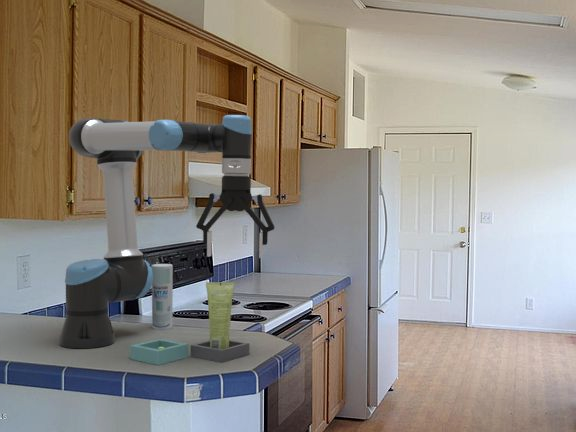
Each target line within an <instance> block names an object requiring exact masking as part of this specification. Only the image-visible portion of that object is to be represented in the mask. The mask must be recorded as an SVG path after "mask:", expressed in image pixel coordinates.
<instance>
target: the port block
mask: <svg viewBox="0 0 576 432" xmlns="http://www.w3.org/2000/svg"><path fill="white" fill-rule="evenodd" d="M129 353H130V354H129V359H130V360H133V361H137V362H142V363H147V364H151V365H156V366H160V365H164V364H168V363H172V362H176V361H180V360H183V359H186V358H187V359H188V358H189V344H188V343H185V342H179V341H174V340H169V339H165V338H158V339H154V340H148V341H145V342H140V343H136V344H131V345H129Z"/></svg>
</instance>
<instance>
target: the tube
mask: <svg viewBox="0 0 576 432" xmlns="http://www.w3.org/2000/svg"><path fill="white" fill-rule="evenodd" d="M205 288H206V292H207V294H206V295H207V303H208V305H207V307H208V319H209V321H208V323H209V326H208V327H209V340H210V348H216V349H221V350H222V349H225V348H229V340H230V333H231V331H230V330H231V320H232V319H231V318H232V317H231V316H232V307H233V306H232V305H233V295H234V289H235V282H233V281H232V282H221V281H220V282H216V281H215V282H213V281H212V282H210V281H206V282H205Z"/></svg>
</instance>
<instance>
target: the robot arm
mask: <svg viewBox="0 0 576 432" xmlns="http://www.w3.org/2000/svg"><path fill="white" fill-rule="evenodd" d="M252 139H253V129H252V118H251V117H250V116H248V115H243V114H227V115H224V116H222V122H221V123H200V122H199V123H198V122H191V121H190V122H189V121H187V122H185V121H179V120H178V121H177V120H173V119H157V120H155V121H154V120H153V121H150V120H149V121H126V120H125V121H124V120H121V119H107V118H96V117H85V118H81V119H79V120H77V121H75V122H74V123H73V124H72V126H71V127H70V129H69V133H68V143H69V145H70V146H71V148H72V150H74V152H75V153H76V154H78V155H80V156H81V157H85V158H89V159H96V165H97V167H98V168H99V169H100V170H101V171H102V178H103V193H104V205H105V207H104V209H105V219H106V220H105V223H106V234H107V235H106V236H107V250H108V251H107V253H106V254H104V256H103V258H91V259H84V260H83V259H82V260H80V261H76V262H73V263H70V264H69V265H67V267H66V269H65V279H64V283H65V319H64V322H63V325H62V329H61V332H60V335H59V346H61V347H64V348H70V349H92V348H100V347H101V348H102V347H106V346H109V345H112V344H114V343H115V341H116V335H115V331H114V329H113V326H112V325H113V324H112V322H111V319H110V317H109V304H111V303H117V302H118V303H119V302H125V301H134V300H137V299H139V298H140V299H141V298H143V297H145V295H147V294H148V292H149V291H150V290H151V289H152V281H153V271H152V266H150V263H149V262H148V261H146V260H144V253H143V252H142V251H140V249H139V248H138V235H137V221H136V208H135V205H136V204H135V192H134V191H135V190H134V178H133V177H134V176H133V169H134V168H135V167H136V166H137V164H138V163H137V162H138V161H137V159H138V158H140V157H141V155H142V151H170V152H171V151H173V152H175V151H176V152H177V151H178V152H191V153H192V152H193V153H197V154H207V153H221V158H222V159H221V173H222V174H223V175H222V177H221V193H220V194H216V193H210V194H209V196H208V202H207V204H206V206H205V207H204V210H203V211H202V214H201V216H200V218H199V220H198V221H197V223H196V225H195V226H196V227H195V228H197V229H198V230H201V231H202V232H203V233H202V237H203V238H202V242H203V244H206V257H212V253H213V252H212V250H213V249H212V246H213V245H212V242H213V239H212V237H213V231H212V230H210V229H211V228H212V227H213V225H214V224H215V223H216V222H217V221H218V220H219V218H220V217H222V216H223V214H224V213H225V212H226V211H229V212H235V211H236V212H244V211H245V212H246V213H247V214H248V215H249V216H250V218H251V219H252V221H254V223H255V224H256V225H257V226H258V227H259V229H260V230H261V231H260V232H259V239H258V240H259V241H258V243H259V245H258V247H259V249H258V251H259V252H258V253H259V254H258V255H259V257H258V258H259V259H262V258H264V246H266V245H267V244H268V234H269V232H271V231H274V230H275V224H274V223H273V221H272V218H271V216H270V214H269V212H268V210H267V208H266V205H265V203H264V196H263V194H261V193H259V194H254V195H253V194H252V191H251V190H252V189H251V188H252V187H251V186H252V185H251V184H252V180H251V179H252V178H251V176H249V175H251V173H252ZM218 200H220V202H221V203H222V205H221V206H220V208H219V209H218V210H217V211H216V213H215V214H214V215H212V217H211V218H210V220H209V221H208V222H207V223H206V220H207V218H208V216H209V214H210V213H211V210H212V208H213V207H214V205H215V203H217V202H218ZM252 200H253V201H254V203H255V204H257V205H258V207H259V210H260V212H261V214H262V215H263V218H264V221H265V223H266V224H267V226H266V225H265V223H264V221H262V219H261V218H260V217H259V216H258V215H257V213H256V212H255V211H254V210H253V208H252V207H251V206H250V204H251V202H252ZM205 223H206V224H205Z"/></svg>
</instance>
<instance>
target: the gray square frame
mask: <svg viewBox="0 0 576 432" xmlns="http://www.w3.org/2000/svg"><path fill="white" fill-rule="evenodd" d="M249 355H250V342H249V343H248V342H244V341H238V340H233V339H229V348H225V349H222V350H221V349H216V348H210V339H209V340H205V341H201V342H197V343H193V344H190V357H193V358H199V359H203V360H206V361H207V360H208V361H213V362H217V361H218V363H225V362H228V360H229V361H232V360H235V359H238V358H242V357H246V356H249ZM224 361H225V362H224Z"/></svg>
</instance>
